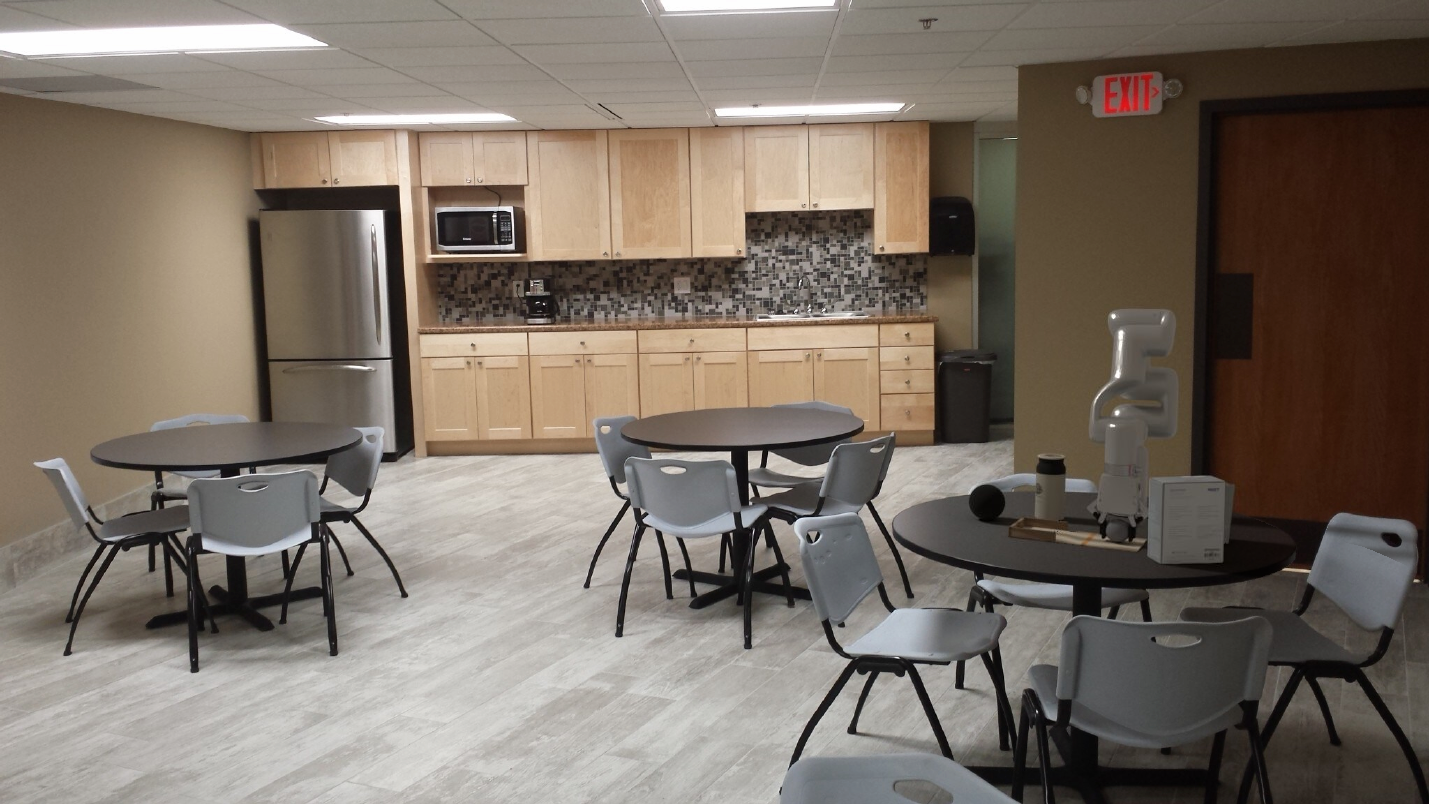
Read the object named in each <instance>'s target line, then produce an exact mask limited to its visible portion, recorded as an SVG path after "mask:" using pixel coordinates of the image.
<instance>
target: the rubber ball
mask: <svg viewBox="0 0 1429 804" xmlns="http://www.w3.org/2000/svg"><path fill="white" fill-rule="evenodd" d="M1129 526H1130V524H1129V523H1128V522H1126V521H1125V520H1124V519H1120V518H1114V519H1111V520H1109V521H1108V522H1107V525H1106V528H1105V532H1106V535H1107V537H1108V538H1109V539H1110V540H1111V541H1113V542H1123V541H1125V540H1126V539H1127V538H1128V535H1129Z"/></svg>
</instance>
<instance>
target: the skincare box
mask: <svg viewBox="0 0 1429 804" xmlns="http://www.w3.org/2000/svg"><path fill="white" fill-rule="evenodd" d="M1235 487H1236V485H1235V484H1233V483H1230V482H1226V494H1225V520H1224V545H1225V543H1226V544H1229V542H1230V532H1231V525H1232V524H1231V523H1232V515H1233V507H1234V506H1233V505H1234V498H1235V497H1234V496H1235V491H1236V489H1235Z"/></svg>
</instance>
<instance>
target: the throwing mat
mask: <svg viewBox="0 0 1429 804" xmlns="http://www.w3.org/2000/svg"><path fill="white" fill-rule="evenodd" d="M1054 531H1055V532H1054ZM1057 531H1058V532H1057ZM1070 531H1072V530H1071V529H1069V522H1068V521H1066V520H1064V521H1063V520H1060V521H1057V520H1048V519H1039V518H1036V517H1026V516H1022V517H1021V518H1020V519H1018V520H1017V521H1015V522H1014V523H1012V524H1011V525H1009V527H1008V537H1009V536H1010V537H1009V538H1014V537H1016V538H1015V539H1022V538H1024V540H1030V539H1032V540H1033V541H1040V542H1047V541H1051V542H1050V543H1056V544H1064V543H1067V545H1072V544H1074V545H1075V546H1081V545H1083V546H1082V547H1091V548H1098V549H1099V548H1100V549H1108V550H1115V551H1123V552H1132V553H1138V552H1139V551H1140V550H1141V548H1142V547H1143V546H1144V545H1145V543H1146V542H1148V538H1142V537H1141V538H1139V537H1136V538H1133V541H1132V542H1129V541H1128V538H1127V539H1126V540H1125V541H1123V542H1113V541H1111V540H1110V539H1109V538H1108V537H1106V538H1105V539H1102V535H1100V533H1099V532H1098V533H1096V532H1086V531H1081V530H1075V531H1076V532H1070ZM1077 531H1078V532H1077ZM1025 538H1026V539H1025ZM1057 542H1058V543H1057ZM1074 545H1073V546H1074Z"/></svg>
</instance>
